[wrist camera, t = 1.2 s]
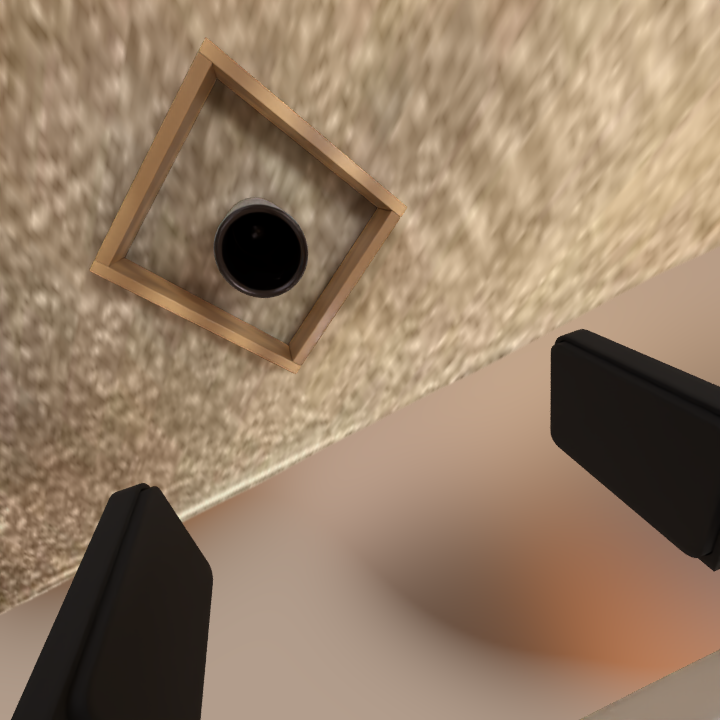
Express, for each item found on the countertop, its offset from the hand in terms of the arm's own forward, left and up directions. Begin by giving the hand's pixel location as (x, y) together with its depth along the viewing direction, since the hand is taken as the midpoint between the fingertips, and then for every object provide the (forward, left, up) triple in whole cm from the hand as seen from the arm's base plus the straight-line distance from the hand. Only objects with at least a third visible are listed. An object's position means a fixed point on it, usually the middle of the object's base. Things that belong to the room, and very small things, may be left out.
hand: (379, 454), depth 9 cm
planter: (-3, +1, -24) cm, 24 cm away
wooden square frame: (-3, +1, -23) cm, 24 cm away
